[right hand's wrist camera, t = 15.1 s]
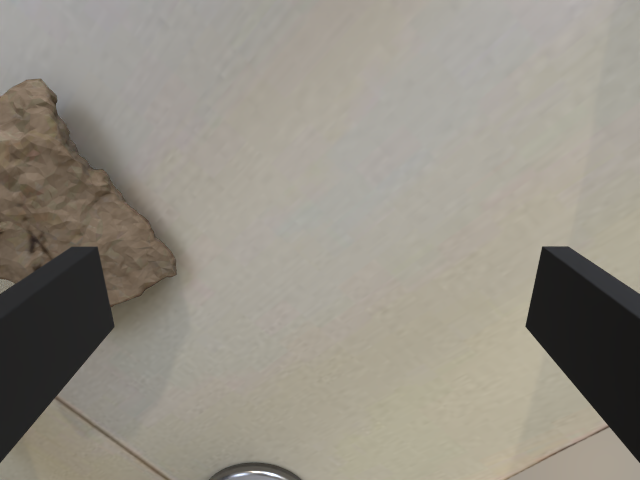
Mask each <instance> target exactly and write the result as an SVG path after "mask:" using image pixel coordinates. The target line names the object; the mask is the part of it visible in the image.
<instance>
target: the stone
mask: <svg viewBox="0 0 640 480" xmlns="http://www.w3.org/2000/svg"><path fill="white" fill-rule="evenodd" d="M56 103H57V96H56V95H55V93H54V92H53V91H52V90H50V89H49V88H48V87H47V85H46V84H45V83H44V82H43V81H42V79H31V80H26V81H24V82H22V83H20V84H18V85H16V86H14V87H12V88H11V89H9V90H8V91H7V92H6V93H5V94H4V95H2V96H1V97H0V279H6V280H9V281H12V282H13V283H15V284H16V283H18V282H19V281H21V280H22V279H24V278H25V277H27V276H28V275H30V274H31V273H33V272H34V271H36V270H37V269H39V268H40V267H42V266H43V265H45V264H46V263H48V262H49V261H51V260H52V259H54V258H55V257H57V256H58V255H60V254H61V253H63V252H64V251H66V250H67V249H69V248H70V247H98V250H99V255H100V260H101V265H102V269H103V274H104V279H105V284H106V288H107V293H108V298H109V303H110V307H112V306H114V305H116V304H119V303H122V302H125V301H127V300H130V299H132V298H135V297H138V296H141V295H142V293H143V292H144V291H145V289H147V288H149V287H151V286H153V285H154V284H155V283H157V282H158V281H160V280H162V279H164V278H165V277H172V276H175V275H177V274H176V259H175V258H174V256H173V254H172V252H171V251H170V250H169V249H168V248H167V247H166V246H165V245H164V243H162V242H161V241H160V240H159V239H157V238H156V237H155V235H154V232H153V230H152V229H151V226H150V224H149V221H148V220H147V219H145V218H144V217H143V216H142V215H140V214H138V213H137V211H136V210H134V209H132V208H131V207H130V206H129V205H128V204H127V203H126V202H125V200H124V198H123V196H122V194H121V192H119V191H118V190H117V189H116V188H115V187H114V186H113V184H112V183H111V181H110V179H109V176H108V174H107V173H106V172H105V171H104V170H102V169H100V170H94V169H92V168H91V167H90V165H89V163H88V161H86V160H85V159H84V158H82V157H81V156H79V155H78V151H77V148H76V145H75V144H74V143H73V142H72V141H71V140H69V130H68V128H67V126H66V124H65V122H64V121H63V120H62V119H61V118H60V117H59V116H58V114H57V110H56Z"/></svg>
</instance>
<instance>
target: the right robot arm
mask: <svg viewBox="0 0 640 480" xmlns="http://www.w3.org/2000/svg"><path fill="white" fill-rule="evenodd" d="M114 327H115V326H114V322H113V317H112V312H111V307H110V303H109V298H108V293H107V288H106V284H105V279H104V274H103V269H102V265H101V260H100V255H99V250H98V247H70V248H69V249H67V250H66V251H64V252H63V253H61V254H60V255H58V256H57V257H55V258H54V259H52V260H51V261H49V262H48V263H46V264H45V265H43V266H42V267H40V268H39V269H37V270H36V271H34V272H33V273H31V274H30V275H28V276H27V277H25V278H24V279H22V280H21V281H19V282H18V283H16V284H15V285H13V286H12V287H10V288H9V289H7V290H6V291H4V292H3V293H1V294H0V463H1V461H2V460H3V459H4V458H5V457H6V455H7V454H8V453H9V452H10V451H11V449H12V448H13V447H14V446H15V445H16V444H17V442H18V441H19V440H20V439H21V438H22V436H23V435H24V434H25V433H26V432H27V430H28V429H29V428H30V427H31V426H32V424H33V423H34V422H35V421H36V420H37V418H38V417H39V416H40V415H41V414H42V413H43V411H44V410H45V409H46V408H47V407H48V405H49V404H50V403H51V402H52V401H53V399H54V398H55V397H56V396H57V395H58V393H59V392H60V391H61V390H62V389H63V387H64V386H65V385H66V384H67V383H68V381H69V380H70V379H71V378H72V377H73V376H74V374H75V373H76V372H77V371H78V370H79V368H80V367H81V366H82V365H83V364H84V362H85V361H86V360H87V359H88V358H89V356H90V355H91V354H92V353H93V352H94V350H95V349H96V348H97V347H98V346H99V345H100V343H101V342H102V341H103V340H104V339H105V337H106V336H107V335H108V334H109V333H110V331H111V330H112V329H113V328H114ZM525 327H526V328H527V329H528V330H529V331H530V333H531V334H532V335H533V336H534V337H535V339H536V340H537V341H538V342H539V343H540V345H541V346H542V347H543V348H544V349H545V350H546V352H547V353H548V354H549V355H550V356H551V358H552V359H553V360H554V361H555V362H556V364H557V365H558V366H559V367H560V368H561V370H562V371H563V372H564V373H565V374H566V376H567V377H568V378H569V379H570V380H571V381H572V383H573V384H574V385H575V386H576V387H577V389H578V390H579V391H580V392H581V393H582V395H583V396H584V397H585V398H586V399H587V401H588V402H589V403H590V404H591V405H592V407H593V408H594V409H595V410H596V411H597V413H598V414H599V415H600V416H601V417H602V418H603V420H604V421H605V422H606V423H607V424H608V426H609V427H610V428H611V429H612V430H613V431H614V433H615V434H616V435H617V436H618V438H619V439H620V440H621V441H622V442H623V443H624V445H625V446H626V447H627V448H628V449H629V451H630V452H631V453H632V454H633V455H634V457H635V458H636V459H637V460H638V461H639V463H640V294H639V293H637V292H636V291H634V290H633V289H631V288H630V287H628V286H627V285H625V284H624V283H622V282H621V281H619V280H618V279H616V278H615V277H613V276H612V275H610V274H609V273H607V272H606V271H604V270H603V269H601V268H600V267H598V266H597V265H595V264H594V263H592V262H591V261H589V260H588V259H586V258H585V257H583V256H582V255H580V254H579V253H577V252H576V251H574V250H573V249H571V248H570V247H542V250H541V255H540V260H539V265H538V269H537V274H536V279H535V284H534V288H533V293H532V298H531V303H530V307H529V312H528V317H527V322H526V326H525ZM209 480H301V479H300V478H298V477H297V476H296V475H294V474H293V473H291V472H289V471H287V470H285V469H283V468H280V467H277V466H274V465H270V464H264V463H244V464H238V465H234V466H231V467H228V468H225V469H223V470H221V471H219V472H218V473H216V474H215V475H214V476H212V477H211V478H210V479H209Z"/></svg>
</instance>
